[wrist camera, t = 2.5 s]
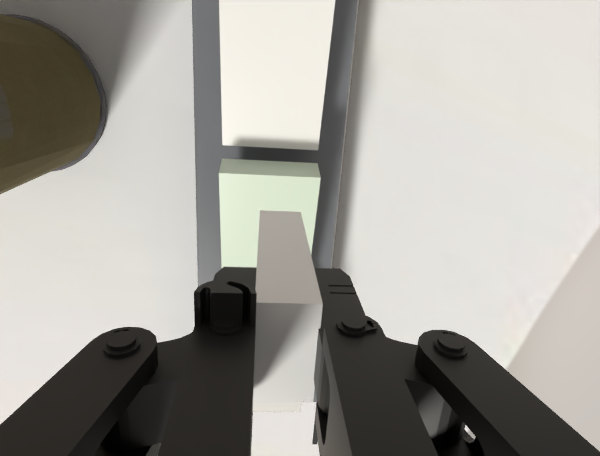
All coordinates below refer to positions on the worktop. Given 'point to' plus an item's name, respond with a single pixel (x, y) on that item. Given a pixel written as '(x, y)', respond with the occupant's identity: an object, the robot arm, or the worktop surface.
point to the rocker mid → (262, 202)
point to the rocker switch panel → (213, 151)
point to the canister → (44, 101)
